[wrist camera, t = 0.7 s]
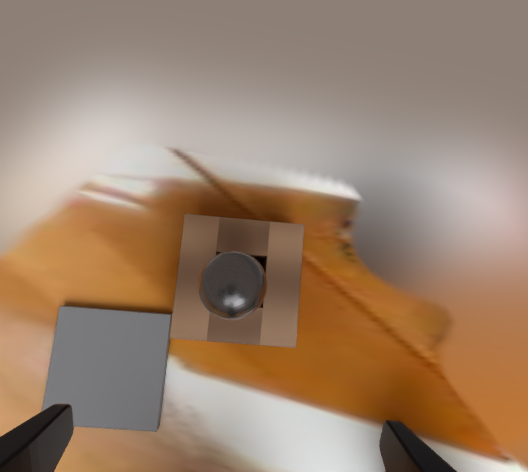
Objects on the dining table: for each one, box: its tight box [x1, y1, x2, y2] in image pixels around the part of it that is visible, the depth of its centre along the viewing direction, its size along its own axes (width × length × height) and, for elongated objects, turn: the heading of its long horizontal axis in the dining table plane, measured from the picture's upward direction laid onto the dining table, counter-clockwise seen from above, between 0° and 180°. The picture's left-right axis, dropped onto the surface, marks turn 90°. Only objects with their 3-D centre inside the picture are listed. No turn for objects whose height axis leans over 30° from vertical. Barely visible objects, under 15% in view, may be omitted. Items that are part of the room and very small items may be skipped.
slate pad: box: [42, 305, 173, 432], centre depth 23 cm, size 9×9×1 cm
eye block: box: [170, 214, 304, 348], centre depth 23 cm, size 9×9×4 cm
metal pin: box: [198, 251, 267, 320], centre depth 18 cm, size 3×3×13 cm
